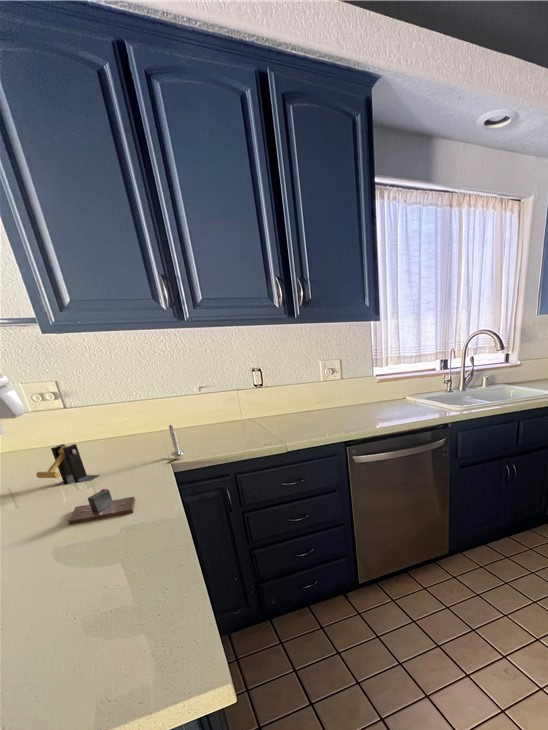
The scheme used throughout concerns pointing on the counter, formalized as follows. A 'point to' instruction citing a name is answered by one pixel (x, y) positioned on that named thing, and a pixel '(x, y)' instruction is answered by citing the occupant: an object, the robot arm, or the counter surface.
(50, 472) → the lever
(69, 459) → the handle bracket
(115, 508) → the lock plate
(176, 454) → the screw
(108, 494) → the lock knob
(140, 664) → the counter surface
